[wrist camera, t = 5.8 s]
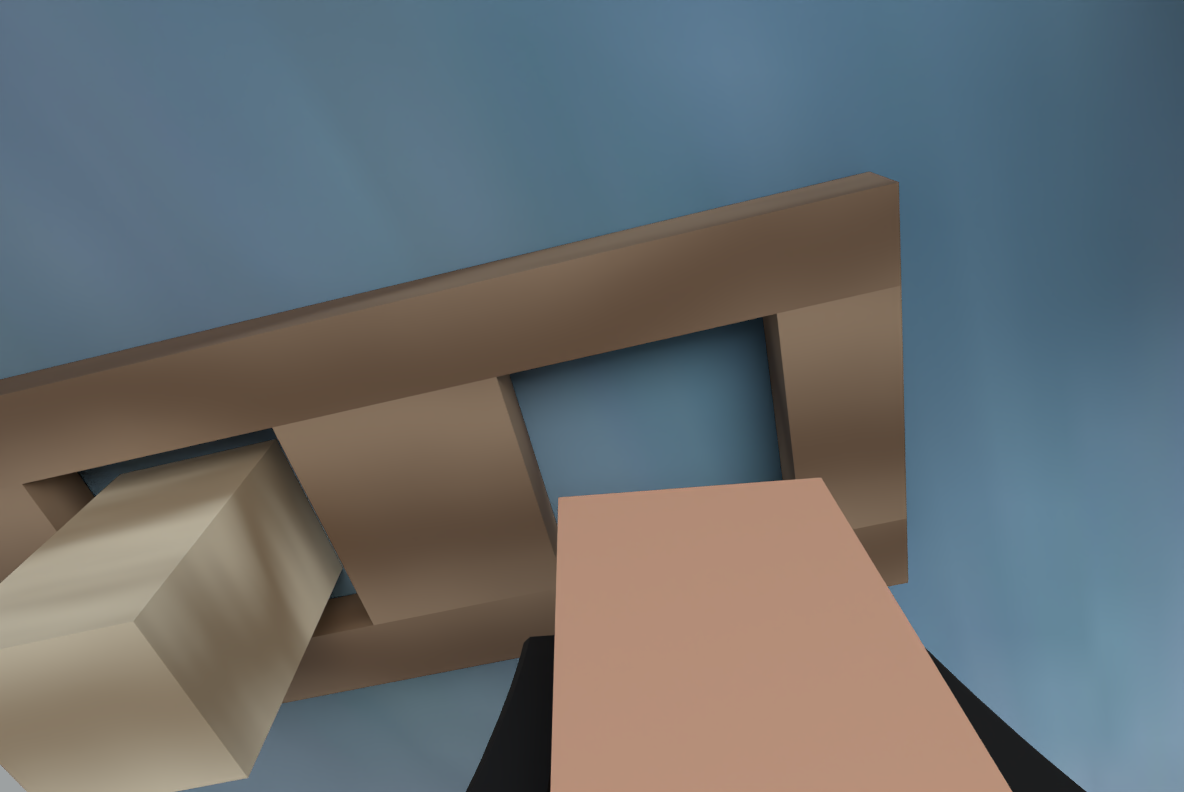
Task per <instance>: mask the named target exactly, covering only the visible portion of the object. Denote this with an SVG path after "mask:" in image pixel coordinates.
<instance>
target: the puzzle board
mask: <svg viewBox="0 0 1184 792" xmlns="http://www.w3.org/2000/svg"><path fill="white" fill-rule="evenodd" d="M760 317H763V324H764V332H765V340H766V348H767V356H768V364H769V372H770V381H771V389H772V397H773V405H774V413H775V421H776V429H777V437H778V446H779V454H780V462H781V470H782V478H783V480H795V479H808V478H822V480H823V482H824V483H825V485H826V486H827V488H828V490H829V491H830V493H831V495H832V496H833V498H834V500H835V501H836V503H837V505H838V506H839V508H840V509H841V511H842V513H843V514H844V516H845V518H846V519H847V521H848V523H849V524H850V526H851V528H852V529H853V531H854V532H855V534H856V536H857V537H858V539H859V541H860V542H861V544H862V546H863V547H864V549H865V550H866V552H867V554H868V555H869V557H870V559H871V560H872V562H873V564H874V565H875V567H876V569H877V570H878V572H879V573H880V575H881V577H882V578H883V580H884V582H885V583H886V585H887V586H892V585H898V584H903V583H908V554H907V512H906V469H905V427H904V384H903V342H902V299H901V257H900V214H899V182H897V181H894V180H891V179H888V178H886V177H883V176H880V175H877V174H874V173H872V172H866V173H862V174H858V175H853V176H849V177H845V178H841V179H837V180H832V181H828V182H824V183H820V184H816V185H812V186H807V187H803V188H799V189H795V190H791V191H786V192H782V193H778V194H774V195H770V196H766V197H761V198H757V199H753V200H749V201H745V202H740V203H736V204H732V205H728V206H724V207H720V208H715V209H711V210H707V211H703V212H699V213H695V214H690V215H686V216H682V217H678V218H674V219H669V220H665V221H661V222H657V223H653V224H649V225H644V226H640V227H636V228H632V229H628V230H623V231H619V232H615V233H611V234H607V235H603V236H598V237H594V238H590V239H586V240H582V241H577V242H573V243H569V244H565V245H561V246H557V247H552V248H548V249H544V250H540V251H536V252H532V253H527V254H523V255H519V256H515V257H511V258H506V259H502V260H498V261H494V262H490V263H486V264H481V265H477V266H473V267H469V268H465V269H460V270H456V271H452V272H448V273H444V274H440V275H435V276H431V277H427V278H423V279H419V280H414V281H410V282H406V283H402V284H398V285H394V286H389V287H385V288H381V289H377V290H373V291H369V292H364V293H360V294H356V295H352V296H348V297H343V298H339V299H335V300H331V301H327V302H323V303H318V304H314V305H310V306H306V307H302V308H297V309H293V310H289V311H285V312H281V313H277V314H272V315H268V316H264V317H260V318H256V319H251V320H247V321H243V322H239V323H235V324H231V325H226V326H222V327H218V328H214V329H210V330H206V331H201V332H197V333H193V334H189V335H185V336H180V337H176V338H172V339H168V340H164V341H160V342H155V343H151V344H147V345H143V346H139V347H134V348H130V349H126V350H122V351H118V352H114V353H109V354H105V355H101V356H97V357H93V358H88V359H84V360H80V361H76V362H72V363H68V364H63V365H59V366H55V367H51V368H47V369H43V370H38V371H34V372H30V373H26V374H22V375H17V376H13V377H9V378H5V379H1V380H0V583H1V582H2V581H3V580H4V579H6V578H7V577H8V576H9V575H10V574H11V573H12V572H13V571H14V570H15V569H17V568H18V567H19V566H20V565H21V564H22V563H23V562H24V561H25V560H26V559H28V558H29V557H30V556H31V555H32V554H33V553H34V552H35V551H36V550H37V549H39V548H40V547H41V546H42V545H43V544H44V543H45V542H46V541H47V540H48V539H50V538H51V537H52V536H53V535H54V534H55V533H56V532H57V531H58V530H59V529H61V528H62V527H63V526H64V525H65V524H66V523H67V522H68V521H69V520H70V519H71V518H73V517H74V516H75V515H76V514H77V513H78V512H79V511H80V510H81V509H82V508H84V507H85V506H86V505H87V504H88V503H89V502H90V501H91V500H92V499H93V498H95V497H94V496H93V494H92V493H91V491H90V490H89V488H88V487H87V485H86V484H85V483H84V481H83V480H82V478H81V477H80V475H79V474H78V471H82V470H87V469H91V468H96V467H100V466H104V465H109V464H113V463H118V462H122V461H127V460H131V459H135V458H140V457H144V456H149V455H153V454H158V453H162V452H166V451H171V450H175V449H180V448H184V447H189V446H193V445H197V444H202V443H206V442H211V441H215V440H219V439H224V438H228V437H233V436H237V435H242V434H246V433H250V432H255V431H259V430H264V429H268V428H273V430H274V432H275V434H276V436H277V438H278V440H279V442H280V444H281V446H282V448H283V450H284V452H285V454H286V456H287V458H288V459H289V461H290V463H291V465H292V467H293V469H294V471H295V473H296V475H297V477H298V479H299V481H300V483H301V485H302V487H303V489H304V491H305V493H306V494H307V496H308V498H309V500H310V502H311V504H312V506H313V508H314V510H315V512H316V514H317V516H318V518H319V520H320V522H321V524H322V526H323V528H324V529H325V531H326V533H327V535H328V537H329V539H330V541H331V543H332V545H333V547H334V549H335V551H336V553H337V555H338V557H339V559H340V561H341V563H342V564H343V566H344V568H345V570H346V572H347V574H348V576H349V578H350V580H351V582H352V584H353V586H354V588H355V590H356V592H357V594H353V595H348V596H343V597H338V598H333V599H328V602H327V604H326V606H325V608H324V610H323V613H322V615H321V617H320V619H319V622H318V624H317V626H316V628H315V630H314V633H313V635H312V637H311V639H310V641H309V644H308V646H307V648H306V650H305V653H304V655H303V657H302V659H301V661H300V664H299V666H298V668H297V670H296V673H295V675H294V677H293V679H292V681H291V684H290V686H289V688H288V690H287V692H286V695H285V697H284V699H283V701H282V703H286V702H292V701H297V700H302V699H307V698H312V697H317V696H323V695H328V694H333V693H338V692H343V691H348V690H354V689H359V688H364V687H369V686H374V685H380V684H385V683H390V682H395V681H400V680H405V679H411V678H416V677H421V676H426V675H431V674H437V673H442V672H447V671H452V670H457V669H462V668H468V667H473V666H478V665H483V664H488V663H494V662H499V661H504V660H509V659H514V658H519V657H520V655H521V651H522V647H523V643H524V642H525V641H526V640H527V639H528V638H529V637H534V636H547V635H555V607H556V570H557V533H558V527H557V523H556V520H555V517H554V514H553V511H552V508H551V504H550V501H549V498H548V495H547V492H546V489H545V486H544V482H543V479H542V476H541V473H540V470H539V467H538V463H537V460H536V457H535V454H534V451H533V448H532V445H531V441H530V438H529V435H528V432H527V429H526V426H525V422H524V419H523V416H522V413H521V410H520V407H519V404H518V400H517V397H516V394H515V391H514V388H513V385H512V382H511V378H510V375H509V374H512V373H516V372H521V371H525V370H529V369H534V368H538V367H543V366H547V365H552V364H556V363H560V362H565V361H569V360H574V359H578V358H582V357H587V356H591V355H596V354H600V353H605V352H609V351H613V350H618V349H622V348H627V347H631V346H636V345H640V344H644V343H649V342H653V341H658V340H662V339H667V338H671V337H675V336H680V335H684V334H689V333H693V332H698V331H702V330H706V329H711V328H715V327H720V326H724V325H729V324H733V323H737V322H742V321H746V320H751V319H755V318H760Z"/></svg>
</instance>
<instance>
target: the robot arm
mask: <svg viewBox="0 0 1184 792" xmlns="http://www.w3.org/2000/svg"><path fill="white" fill-rule="evenodd" d="M554 644H555V635H547V636H534V637H529V638H528V639H527V640H526V641H525V642H524V643H523V647H522V651H521V655H520V659H519V662H518V665H517V669H516V672H515V675H514V678H513V681H512V684H511V687H510V690H509V692H508V695H507V698H506V700H505V703H504V706H503V708H502V711H501V714H500V716H499V719H498V721H497V723H496V726H495V728H494V731H493V733H492V735H491V738H490V740H489V742H488V745H487V747H486V749H485V752H484V754H483V757H482V759H481V761H480V763H479V766H478V768H477V770H476V772H475V774H474V776H473V778H472V780H471V782H470V784H469V786H468V788H467V791H466V792H550V791H551V754H552V717H553V680H554ZM925 649H926V648H925ZM926 651H927V652H928V654H929V656H930V657H931V659H932V661H933V662H934V664H935V665H936V667H937V669H938V670H939V672H940V674H941V675H942V677H943V679H944V680H945V682H946V684H947V685H948V687H949V688H950V690H951V692H952V693H953V695H954V697H955V698H956V700H957V702H958V703H959V705H960V707H961V708H962V710H963V711H964V713H965V715H966V716H967V718H968V720H969V721H970V723H971V725H972V726H973V728H974V730H975V731H976V733H977V734H978V736H979V738H980V739H981V741H982V743H983V744H984V746H985V748H986V749H987V751H988V753H989V754H990V756H991V757H992V759H993V761H994V762H995V764H996V766H997V767H998V769H999V771H1000V772H1001V774H1002V776H1003V777H1004V779H1005V780H1006V782H1007V784H1008V785H1009V787H1010V789H1011V790H1012V792H1086V791H1085V790H1084V789H1082V788H1081V787H1080V786H1079V785H1077V784H1076V783H1075V782H1074V781H1073V780H1071V779H1070V778H1069V777H1068V776H1067V775H1065V774H1064V773H1063V772H1062V771H1061V770H1059V769H1058V768H1057V767H1056V766H1055V765H1053V764H1052V763H1051V762H1050V761H1049V760H1047V759H1046V758H1045V757H1044V756H1043V755H1041V754H1040V753H1039V752H1038V751H1037V750H1036V749H1035V748H1033V747H1032V746H1031V745H1030V744H1029V743H1028V742H1027V741H1025V740H1024V739H1023V738H1022V737H1021V736H1020V735H1018V734H1017V733H1016V732H1015V731H1014V730H1013V729H1012V728H1011V727H1010V726H1008V725H1007V724H1006V723H1005V722H1004V721H1003V720H1002V719H1001V718H1000V717H998V716H997V715H996V714H995V713H994V712H993V711H992V710H991V709H990V708H989V707H987V706H986V705H985V704H984V703H983V702H982V701H981V700H980V699H979V698H977V697H976V696H975V695H974V694H973V693H972V692H971V691H970V690H969V689H968V688H967V687H966V686H965V685H964V684H962V683H961V682H960V681H959V680H958V679H957V678H956V677H955V676H954V675H953V674H952V673H951V672H950V671H949V670H948V669H947V668H946V667H945V666H944V665H943V664H942V663H940V662H939V661H938V660H937V659H936V658H935V657H934V656H933V655H932V654H931V653H930V652H929V651H928V650H927V649H926Z"/></svg>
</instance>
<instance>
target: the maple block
mask: <svg viewBox="0 0 1184 792" xmlns="http://www.w3.org/2000/svg"><path fill="white" fill-rule="evenodd" d="M342 568H343V567H342V565H341V563H340V561H339V559H338V557H337V555H336V553H335V551H334V549H333V548H332V546H331V544H330V542H329V540H328V538H327V536H326V534H325V532H324V530H323V528H322V526H321V524H320V522H319V521H318V519H317V517H316V515H315V513H314V511H313V509H312V507H311V505H310V503H309V501H308V499H307V497H306V495H305V494H304V492H303V490H302V488H301V486H300V484H299V482H298V480H297V478H296V476H295V474H294V472H293V470H292V468H291V467H290V465H289V463H288V461H287V459H286V457H285V455H284V453H283V451H282V449H281V447H280V445H279V443H278V441H277V440H276V439H274V440H270V441H265V442H261V443H257V444H252V445H248V446H243V447H239V448H234V449H230V450H226V451H221V452H217V453H212V454H208V455H204V456H199V457H195V458H190V459H186V460H181V461H177V462H173V463H168V464H164V465H159V466H155V467H151V468H146V469H142V470H137V471H133V472H129V473H124V474H120V475H119V476H118V477H117V478H115V479H114V480H113V481H112V482H111V483H110V484H109V485H108V486H107V487H106V488H104V489H103V490H102V491H101V492H100V493H99V494H98V495H97V496H96V497H95V498H93V499H92V500H91V501H90V502H89V503H88V504H87V505H86V506H85V507H84V508H82V509H81V510H80V511H79V512H78V513H77V514H76V515H75V516H74V517H73V518H71V519H70V520H69V521H68V522H67V523H66V524H65V525H64V526H63V527H62V528H61V529H59V530H58V531H57V532H56V533H55V534H54V535H53V536H52V537H51V538H50V539H48V540H47V541H46V542H45V543H44V544H43V545H42V546H41V547H40V548H39V549H37V550H36V551H35V552H34V553H33V554H32V555H31V556H30V557H29V558H28V559H26V560H25V561H24V562H23V563H22V564H21V565H20V566H19V567H18V568H17V569H15V570H14V571H13V572H12V573H11V574H10V575H9V576H8V577H7V578H6V579H4V580H3V581H2V582H1V583H0V765H1V766H2V767H3V768H4V769H5V770H6V771H7V772H8V773H9V774H10V775H11V776H12V777H13V778H14V779H15V780H16V781H17V782H18V783H19V784H20V785H21V786H22V787H23V788H24V789H25V790H26V791H27V792H176V791H181V790H186V789H192V788H197V787H202V786H208V785H213V784H218V783H224V782H229V781H234V780H240V779H245V778H248V777H249V775H250V772H251V770H252V768H253V766H254V763H255V761H256V759H257V757H258V755H259V752H260V750H261V748H262V746H263V743H264V741H265V739H266V737H267V735H268V732H269V730H270V728H271V726H272V724H273V721H274V719H275V717H276V715H277V712H278V710H279V708H280V706H281V704H282V701H283V699H284V697H285V695H286V692H287V690H288V688H289V686H290V684H291V681H292V679H293V677H294V675H295V673H296V670H297V668H298V666H299V664H300V661H301V659H302V657H303V655H304V653H305V650H306V648H307V646H308V644H309V641H310V639H311V637H312V635H313V633H314V630H315V628H316V626H317V624H318V622H319V619H320V617H321V615H322V613H323V610H324V608H325V606H326V604H327V602H328V599H329V597H330V595H331V593H332V590H333V588H334V586H335V584H336V582H337V579H338V577H339V575H340V573H341V570H342Z"/></svg>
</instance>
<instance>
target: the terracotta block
mask: <svg viewBox="0 0 1184 792" xmlns="http://www.w3.org/2000/svg"><path fill="white" fill-rule="evenodd" d="M550 792H1012V790H1011V789H1010V787H1009V785H1008V784H1007V782H1006V780H1005V779H1004V777H1003V776H1002V774H1001V772H1000V771H999V769H998V767H997V766H996V764H995V762H994V761H993V759H992V757H991V756H990V754H989V753H988V751H987V749H986V748H985V746H984V744H983V743H982V741H981V739H980V738H979V736H978V734H977V733H976V731H975V730H974V728H973V726H972V725H971V723H970V721H969V720H968V718H967V716H966V715H965V713H964V711H963V710H962V708H961V707H960V705H959V703H958V702H957V700H956V698H955V697H954V695H953V693H952V692H951V690H950V688H949V687H948V685H947V684H946V682H945V680H944V679H943V677H942V675H941V674H940V672H939V670H938V669H937V667H936V665H935V664H934V662H933V661H932V659H931V657H930V656H929V654H928V652H927V651H926V649H925V647H924V646H923V644H922V642H921V641H920V639H919V638H918V636H917V634H916V633H915V631H914V629H913V628H912V626H911V624H910V623H909V621H908V619H907V618H906V616H905V615H904V613H903V611H902V610H901V608H900V606H899V605H898V603H897V601H896V600H895V598H894V596H893V595H892V593H891V592H890V590H889V588H888V587H887V585H886V583H885V582H884V580H883V578H882V577H881V575H880V573H879V572H878V570H877V569H876V567H875V565H874V564H873V562H872V560H871V559H870V557H869V555H868V554H867V552H866V550H865V549H864V547H863V546H862V544H861V542H860V541H859V539H858V537H857V536H856V534H855V532H854V531H853V529H852V528H851V526H850V524H849V523H848V521H847V519H846V518H845V516H844V514H843V513H842V511H841V509H840V508H839V506H838V505H837V503H836V501H835V500H834V498H833V496H832V495H831V493H830V491H829V490H828V488H827V486H826V485H825V483H824V482H823V480H822V478H808V479H795V480H782V481H769V482H755V483H742V484H729V485H716V486H703V487H690V488H677V489H664V490H651V491H638V492H624V493H611V494H598V495H585V496H572V497H559V498H558V533H557V570H556V607H555V644H554V680H553V717H552V754H551V791H550Z"/></svg>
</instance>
